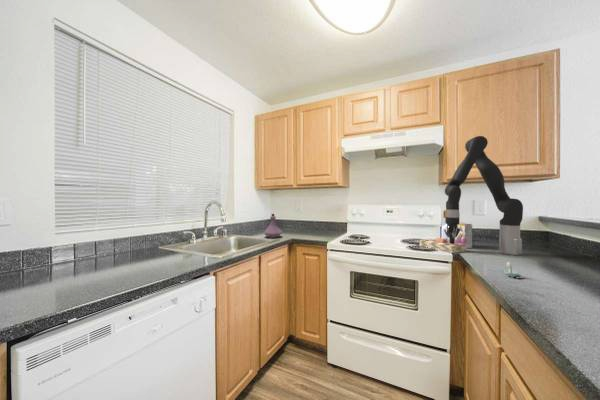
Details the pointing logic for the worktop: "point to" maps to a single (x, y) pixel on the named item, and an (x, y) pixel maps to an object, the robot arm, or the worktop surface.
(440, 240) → the button middle
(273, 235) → the flask
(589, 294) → the worktop surface
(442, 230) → the soap bottle
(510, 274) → the pacifier
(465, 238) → the candy bar box
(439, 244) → the button board
